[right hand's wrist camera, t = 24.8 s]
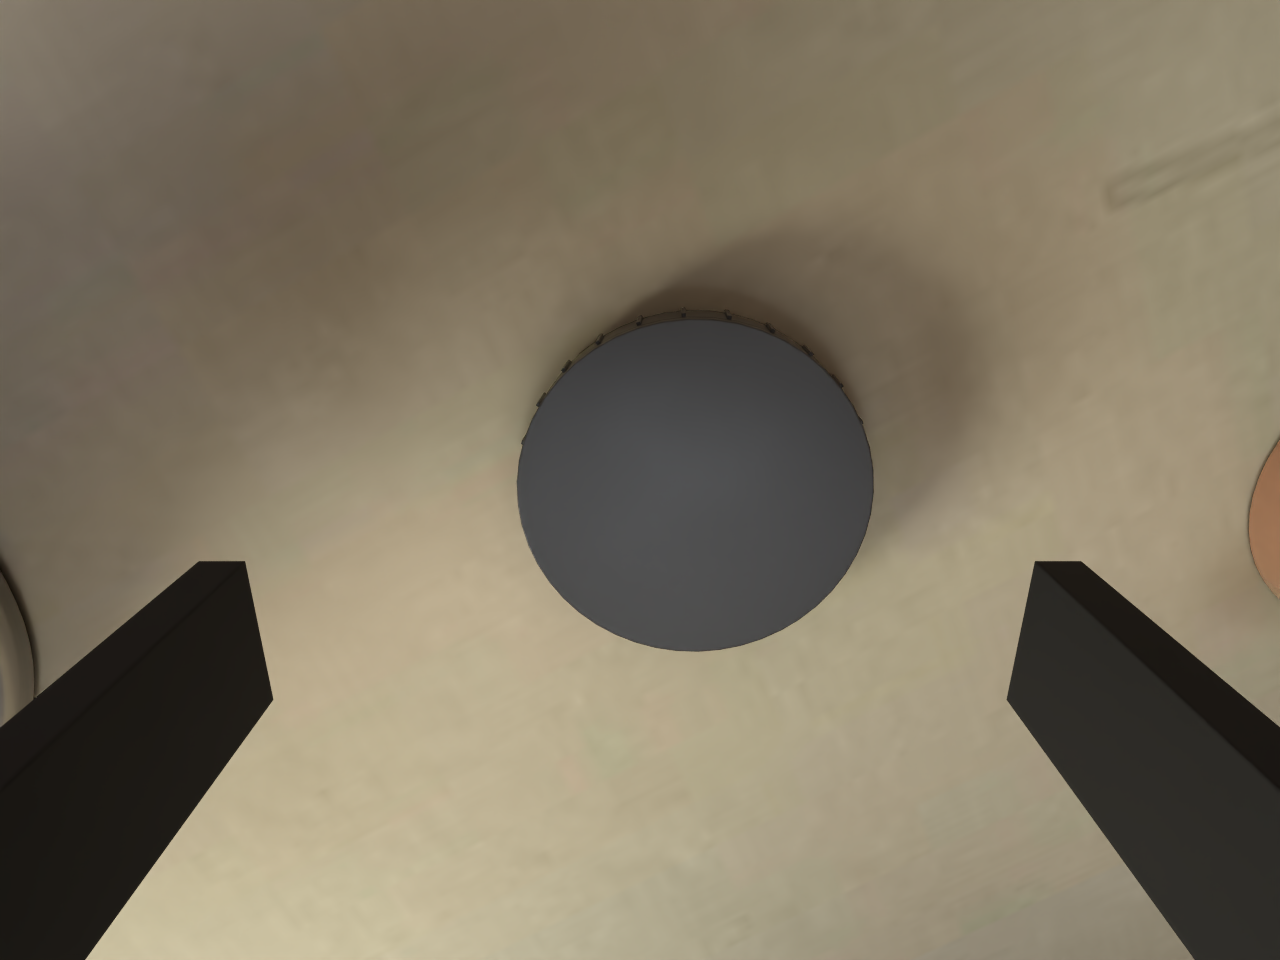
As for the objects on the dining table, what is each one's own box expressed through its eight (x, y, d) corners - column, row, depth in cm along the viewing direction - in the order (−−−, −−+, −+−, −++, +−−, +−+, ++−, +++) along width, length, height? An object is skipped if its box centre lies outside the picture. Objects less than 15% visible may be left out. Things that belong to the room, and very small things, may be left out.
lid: (590, 657, 23) (584, 688, 22) (474, 369, 20) (459, 382, 19) (892, 578, 22) (909, 606, 20) (816, 257, 19) (828, 262, 18)
